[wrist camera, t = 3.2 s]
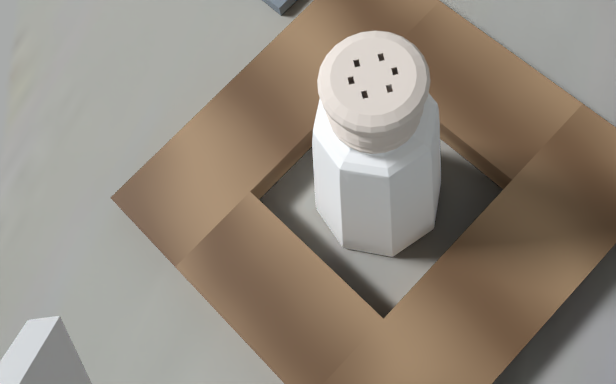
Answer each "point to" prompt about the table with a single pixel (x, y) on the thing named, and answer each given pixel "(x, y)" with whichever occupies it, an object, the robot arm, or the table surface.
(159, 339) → the table surface
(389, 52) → the pepper shaker
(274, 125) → the walnut frame
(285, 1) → the grey mat
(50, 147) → the table surface
